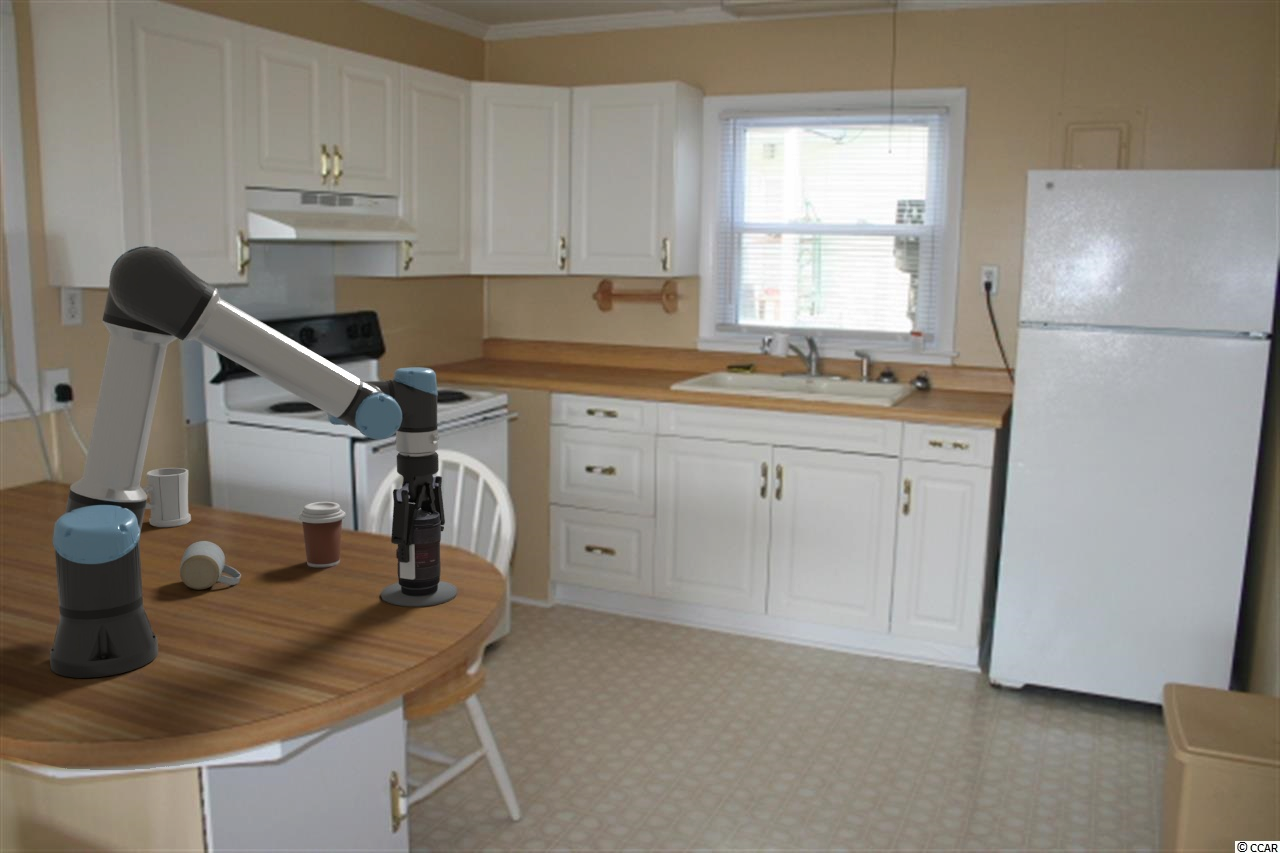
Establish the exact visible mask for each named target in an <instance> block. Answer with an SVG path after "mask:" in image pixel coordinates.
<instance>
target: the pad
mask: <svg viewBox="0 0 1280 853" xmlns="http://www.w3.org/2000/svg"><path fill="white" fill-rule="evenodd" d="M457 595H458V588H457V587H456V585H454V584H452V583H450V582H448V581H443V580H440V582H439V583H438V590H437V592H435V593H433V594H430V595H426V596H408V595H405V594H403V593H402V591H401V586H400V585H399V582H395V583H392V584H389V585H387V586H386V587H384V588H383V589H382V590H381V592H380V598H381V600H382V601H383V602H385V603H388V604H389V605H393V606H398V607H407V608H408V607H409V608H410V607H411V608H412V607H413V608H416V607H417V608H419V607H430V606H431V607H432V606H436V605H440V604H444V603H447V602H450V601H451V600H453V599H455V598H456V597H457Z"/></svg>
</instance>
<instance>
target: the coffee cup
mask: <svg viewBox="0 0 1280 853" xmlns="http://www.w3.org/2000/svg"><path fill="white" fill-rule="evenodd" d="M303 506H304V507H303V510H302V511H301V512H300V513H299V514H298V520H299V522H302V532H303V539H304V540H303V541H304V547H305V555H306V564H307V566H308V567H312V568H330V567H334V566H337V565H339V564H340V562H341V546H342V529H343V527H342V526H343V519H345V518H346V512H345V511H344V510H342V509H341V505H340V504H339V503H337V502H333V501H317V502H312V503H307V504H305V505H303Z"/></svg>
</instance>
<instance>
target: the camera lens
mask: <svg viewBox="0 0 1280 853" xmlns="http://www.w3.org/2000/svg"><path fill="white" fill-rule="evenodd" d="M441 526H442V525H441V520H440V514H439V513H438V512H436V511H434V512H433V514H431V513H429V512H427V511H424V510H421V508H420V509H418V512H417V517H416V519H415V520H414V533H413V538H412V543H411V544H414V546H415V579H413V580H412V579H404V578H400V560H399V557H400V556H399V555H400V554H399V545H398V544H397V548H396V553H395V555H396V556H395V558H396V559H397V578H398V583H399V585H400V586H401V591H402V593H403V594H405V595H408V596H426V595H430V594H433V593H435V592H437V590H438V583H439V582H440V581H441V567H442V566H441V565H442V564H441V539H442V531H441Z"/></svg>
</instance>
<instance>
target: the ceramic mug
mask: <svg viewBox="0 0 1280 853" xmlns="http://www.w3.org/2000/svg"><path fill="white" fill-rule="evenodd" d="M225 557H226V556H225V554H224V551H223V549H222V548H221V547H220V546H219V545H218V544H216V543H213V542H212V541H208V540H200V541H196V542H193V543H191V544H190V545H189V546H188V547H187V548H185V550H184V553H183V556H182V559H181V562H180V566H179V575H180V578H181V581H182V582H183V584H185V585H186V586H187V587H189V588H190V589H192V590H206V589H209V588H210V587H212V586H214V585H215V584H216V583H217V582H218V583H221V584H225V585H228V586H235V585H238V584H239V583H240V579H241V578H242V574H241V573H240V571H238V570H237V569H236V568H234V567H232V566H230V565H228V564H226V558H225ZM222 573H224V574H226V575H223V574H222ZM227 575H228V576H227Z"/></svg>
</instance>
